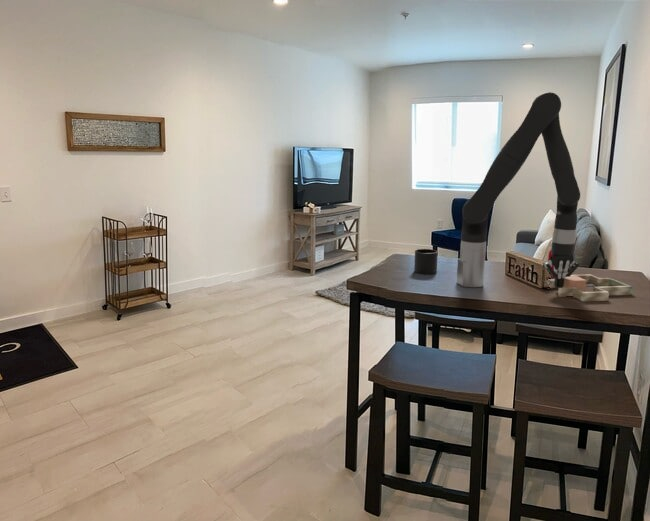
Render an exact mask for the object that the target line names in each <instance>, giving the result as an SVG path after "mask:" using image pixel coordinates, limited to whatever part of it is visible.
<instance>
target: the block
mask: <svg viewBox="0 0 650 521" xmlns="http://www.w3.org/2000/svg"><path fill="white" fill-rule="evenodd" d="M586 281H587V280H585V279H582V278H580V277H578V276H570V277H565V279H564V286H563V287H562V288H571V287H575V288H577V289H579V290H582V291H584V292H586V289H587V286H586Z"/></svg>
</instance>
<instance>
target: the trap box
mask: <svg viewBox="0 0 650 521" xmlns="http://www.w3.org/2000/svg"><path fill="white" fill-rule="evenodd" d="M571 276H578V277H580V278H582V279H585V280H587V281H586V287H593V288H592V291H585V292H584V291H582V290H579V289H577V288H575V287H571V288H558V290H557V291H558V292H557V297H559V298H563V297H565V298H567V297H566V296H573V297H572V298H575V299H577V300H579V301H581V302H601V301H603V302H605V301H606V302H608V301H609V296H630V295H631V296H632V294H633V290H634V286H633V285H630V284H628V283H624V282H622V281H620V280H616V279H614V278H611V277H598V276H596V275H593V274H571ZM549 280H550V284H549V287H550V288H549V289H557V288H556V287H555V286H554V282H555V279H553V280H551V279H549Z"/></svg>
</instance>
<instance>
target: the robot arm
mask: <svg viewBox="0 0 650 521" xmlns="http://www.w3.org/2000/svg"><path fill="white" fill-rule="evenodd" d="M561 108H562V102H561V98H560V97H559V95H557V93H555V92H551V91H548V92H547V91H546V92H544V93H543V92H542V93H541V94H539V95H537V96H536V97H535V98H534V100H533V101H532V103H531V107H530V108H529V110H528V112H527V114H526V115H525V118H524V119H523V121H522V123H521V124H520V126H519V127H518V129H517V130H515V132H514V133H513V135H511V136H510V138H509V139H508V140H507V142H506V143H505V144H504V146H502V148H501V150H500V151H499V152H498V153H497V156H496V157H495V158H494V160H493V161H492V164H491V165H490V166H489V169H488V170H487V173H486V175H485V177H484V179H483V181H482V183H481V184H480V186H479V187H478V188H477V189H476V191H475V192H474V194H473V195H472V196H471V197H470V199H468V200H467V201H466V202H465V203H464V205H463V207H462V210H461V212H462V225H461V233H460V234H461V235H460V253H459V258H458V259H457V273H456V283H457V284H458V285H460V286H461V287H467V288H480V287H483V286H484V280H485V278H484V277H485V267H486V266H485V265H486V252H487V251H486V250H487V236H488V224H489V223H488V222H489V214H490V211H491V209H492V208H493V206H494V204H495V203H496V201H497V199H498V197H499V196H500V195H501V193H502V192H503V191H504V190H505V188H507V186H508V185H509V184H510V183H511V181H512V180H513V179H514V178H515V177H516V175H517V174H518V173H519V171H520V170H521V168H522V167H523V165H524V164H525V162H526V161H527V159H528V158H529V156H530V154H531V152H532V150H533V148H534V147H535V144H536V142H537V141H538V139H539V138H540V135H541V136H542V139H543V143H544V148H545V152H546V157H547V162H548V165H549V168H550V173H551V176H552V179H553V180H554V185H555V190H556V194H557V197H556V213H555V214H556V215H555V219H554V226H553V233H552V238H551V240H552V241H551V248H550V249H551V257H550V260H549V261H548V260H547V262H543V263H542V265H543V267H544V268H545V270H546V272H547V271H548V272H549V274H550V275H551V276H553V277H555V282H554V286H555V287H556V288H555V289H559V288H562V287H563V286H564V279H565V277H570V276H571V275H573V273H574V272H575V271H576V270H577V269H578V267H579V266H580V263H578V262H576V261H575V258H574V255H575V247H576V241H577V225H578V223H577V222H578V215H577V214H578V213H577V211H578V207H579V206H578V204H579V201H580V200H581V191H580V187H579V185H578V182H577V181H578V180H577V178H576V176H575V170H574V166H573V162H572V157H571V155H570V151H569V149H568V146H567V143H566V141H565V139H564V135H563V131H562V127H561V122H560V120H561V119H560V112H561ZM552 265H553V267H554V270H553V269H552Z"/></svg>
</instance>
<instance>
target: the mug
mask: <svg viewBox="0 0 650 521" xmlns="http://www.w3.org/2000/svg"><path fill="white" fill-rule="evenodd" d="M438 253H439V252H438V251H437V250H435V249H429V248H420V249H416V250H414V267H413V271H414V272H415V273H416V274H419V273H420V274H419V275H434V274H437V271H438Z"/></svg>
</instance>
